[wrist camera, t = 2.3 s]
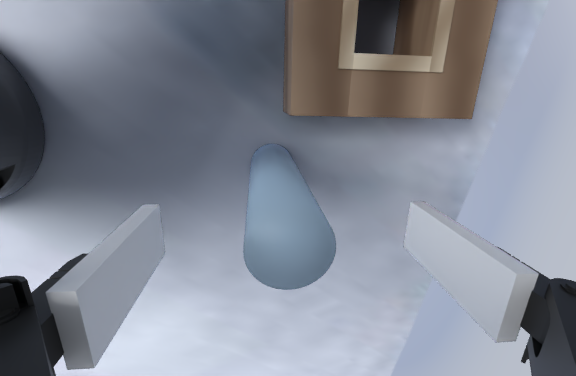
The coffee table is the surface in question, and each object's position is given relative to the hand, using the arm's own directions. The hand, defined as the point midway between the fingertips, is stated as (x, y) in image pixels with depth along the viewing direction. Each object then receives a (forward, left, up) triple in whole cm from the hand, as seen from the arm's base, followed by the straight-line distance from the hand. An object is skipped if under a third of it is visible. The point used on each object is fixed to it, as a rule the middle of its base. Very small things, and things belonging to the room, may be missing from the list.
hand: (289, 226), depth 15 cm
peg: (0, 0, -13) cm, 13 cm away
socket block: (+8, +12, -13) cm, 20 cm away
